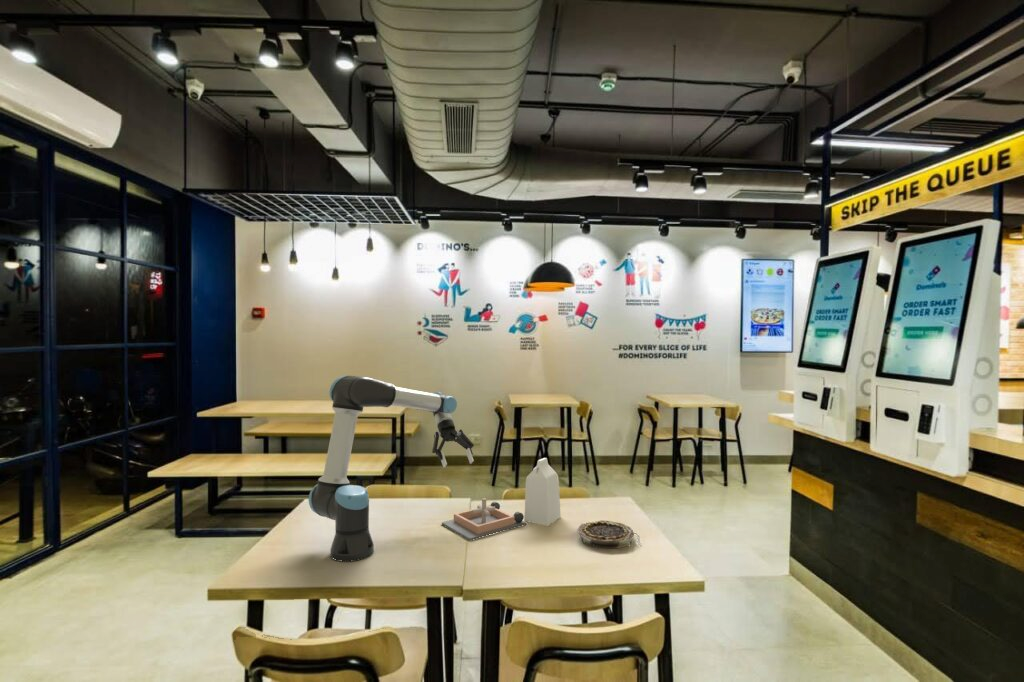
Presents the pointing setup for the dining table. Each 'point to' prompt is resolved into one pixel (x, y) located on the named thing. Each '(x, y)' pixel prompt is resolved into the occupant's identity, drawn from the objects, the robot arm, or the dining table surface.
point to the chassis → (473, 525)
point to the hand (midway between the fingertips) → (458, 464)
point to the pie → (606, 534)
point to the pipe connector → (483, 510)
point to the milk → (542, 495)
